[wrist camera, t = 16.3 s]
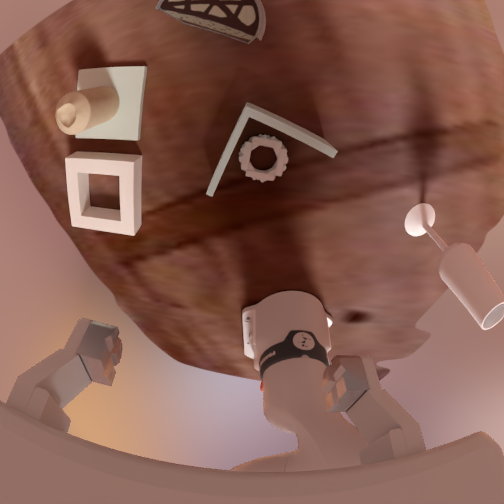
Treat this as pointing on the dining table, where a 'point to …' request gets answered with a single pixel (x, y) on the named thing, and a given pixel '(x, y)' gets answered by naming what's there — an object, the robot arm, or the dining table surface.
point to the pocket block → (130, 191)
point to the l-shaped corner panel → (267, 141)
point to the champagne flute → (461, 270)
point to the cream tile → (130, 96)
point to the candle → (86, 109)
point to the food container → (220, 16)
